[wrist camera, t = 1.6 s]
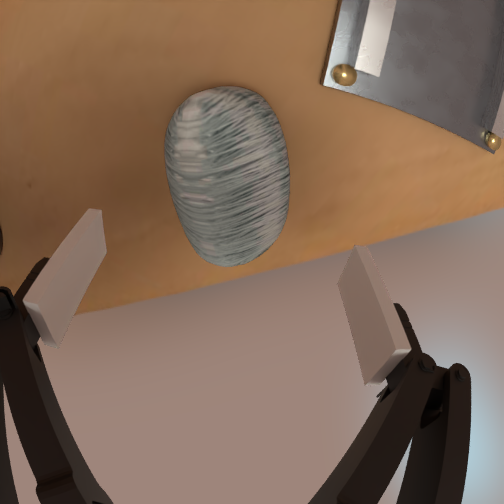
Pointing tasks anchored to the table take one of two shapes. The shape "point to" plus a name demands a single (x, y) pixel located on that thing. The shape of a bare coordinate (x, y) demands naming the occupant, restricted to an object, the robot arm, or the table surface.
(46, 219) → the table surface
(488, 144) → the carrier
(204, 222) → the grey rock
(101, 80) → the table surface
